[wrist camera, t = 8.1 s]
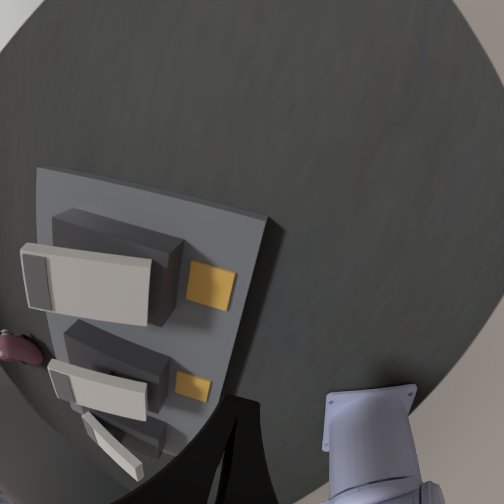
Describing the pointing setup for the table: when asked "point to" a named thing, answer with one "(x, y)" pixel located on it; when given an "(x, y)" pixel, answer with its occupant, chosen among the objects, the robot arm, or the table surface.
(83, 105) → the table surface
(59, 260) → the rocker near
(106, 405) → the rocker middle
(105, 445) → the rocker far
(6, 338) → the video game controller
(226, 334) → the switch board
